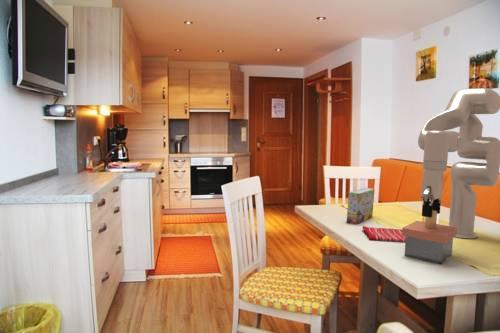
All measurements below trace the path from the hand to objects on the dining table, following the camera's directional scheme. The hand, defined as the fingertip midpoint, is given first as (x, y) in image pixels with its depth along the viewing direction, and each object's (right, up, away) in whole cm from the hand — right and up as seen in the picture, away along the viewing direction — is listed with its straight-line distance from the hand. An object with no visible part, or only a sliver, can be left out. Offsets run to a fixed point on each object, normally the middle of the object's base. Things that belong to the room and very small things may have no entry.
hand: (430, 214), depth 135 cm
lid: (0, -7, +1) cm, 7 cm away
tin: (0, -15, +2) cm, 15 cm away
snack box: (-9, -10, +54) cm, 56 cm away
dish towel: (-4, -13, +26) cm, 29 cm away
